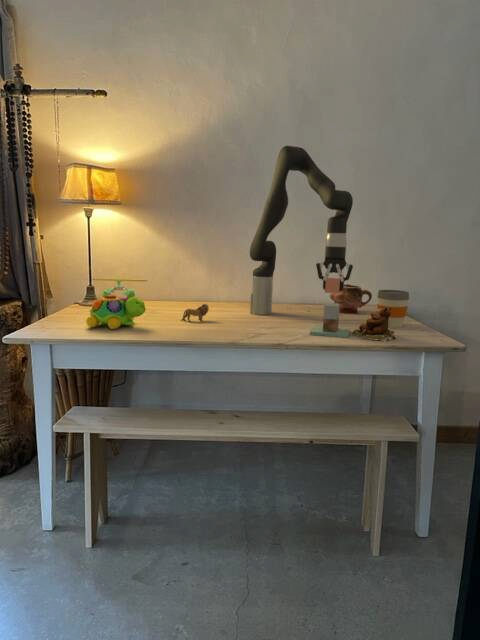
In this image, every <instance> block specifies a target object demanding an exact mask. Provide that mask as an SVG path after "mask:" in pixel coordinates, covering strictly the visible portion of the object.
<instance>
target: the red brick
mask: <svg viewBox="0 0 480 640" xmlns="http://www.w3.org/2000/svg"><path fill="white" fill-rule="evenodd" d="M339 290H340V277H337V278H336V277H328V278H327V279H326V285H325V291H324V293H326V294H327V293H328V294H331V293H340V292H339Z"/></svg>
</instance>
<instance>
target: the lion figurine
mask: <svg viewBox="0 0 480 640" xmlns="http://www.w3.org/2000/svg"><path fill="white" fill-rule="evenodd" d="M209 310H210V309H209V305H208V304H207V303H203V304H201V305H200V306H199V307H198V308H196V309H194V308H186V309H185V310H184V312H183V316H182V319H180V322H182V321H184V322H186V321H188V322H189V323H192V320H190V318H191V316H193V317H198V318H197V319H198V321H199V320H200V322H201V321H203V317H204V316H206V315H207V314H208V312H209ZM186 318H187V320H186Z"/></svg>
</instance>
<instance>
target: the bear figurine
mask: <svg viewBox="0 0 480 640" xmlns="http://www.w3.org/2000/svg"><path fill="white" fill-rule="evenodd" d="M391 309H392V308H391V307H390V308H387V307H386V308H382V309H378V308H377V310H376V312H373V311H371V312H370V318H367V319H366V322H362V323H361V324H360V325H359V326H358V329H354V330H353V331H352V332H351V334H352V335H353V336H356V337H358V338H359V339H360V338H361V339H365V340H372V341H381V342H384V343H386V342H389V341H392V340H393V338H395V339H397V335H396V334H395V333H396V331H393V330H390V329H389V328H388V320H389V316H390V314H391V312H390V310H391Z"/></svg>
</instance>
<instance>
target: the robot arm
mask: <svg viewBox="0 0 480 640" xmlns="http://www.w3.org/2000/svg"><path fill="white" fill-rule="evenodd" d="M275 163H276V164H275V167H274V173H273V177H272V182H271V185H270V189H269V192H268V196H267V198H266V201H265V204H264V207H263V212H262V215H261V219H260V221H259V224H258V227H257V229H256V232H255V234H254V236H253V239H252V241H251V244H250V248H249V257H250V259H251V260H252V261H255V262H261V265H259V266H258V267H257V268H254V269H253V270H252V287H251V290H252V291H251V292H250V306H249V307H250V309H249V313H250V314H253V315H259V316H269V315H272V312H273V311H272V310H273V309H272V308H273V307H272V306H273V287H274V286H273V285H274V284H273V283H274V274H275V270H276V262H277V261H276V259H277V246H276V244H275V242H274V241H272V240H268V237H269V236H270V234H271V232H273V230H274V229H275V228H276V227H277V226H278V225H279V224H280V223H281V222H282V221H283V219H284V218H285V215H286V212H287V210H288V209H287V208H288V205H289V196H288V191H287V186H286V185H287V184H286V183H287V179H288V175H289V173H290V172H289V171H293V172H297V171H299V172H300V173H302V174H304V175H305V176H306V178H307V182H308V184H309V186H310V188H311V189H312V190H313V191H314V192H315V193H316V194H317V195H318V196H319V198H320V200H321V202H322V203H323V205H324V207H326V208H328V209H330V210H332V211H334V210H335V211H336V212H335V214H334V215H333V216H331V217H329V218H328V220H327V229H326V236H325V248H324V249H325V251H324V260H323V262H317V263H316V264H315V266H316V270H317V276H318V279H320V280H322V281H323V282H322V289H323V290H324V292H325V285H326V279H327V278H329V276H330V274H332V273H335V274H338V276H339V277H338V278H340V290H339V292H341V291H342V290H343V289H344V285H345V282H346V281H349V280H350V278H351V274H352V271H353V269H354V264H351V263H347V261H346V253H347V251H346V250H347V229H348V228H347V227H348V225H347V223H348V221H349V220H348V219H349V218H350V216H351V215H350V214H351V212H352V208H353V202H354V201H353V196H352V193H350V192H349V191H348V190H339V189H336V184H335V182H334V181H333V180H332V179H331V178H329V177H328V176H327V175H326V174H325V173H324V171H322V170H321V169H320V168H319V167H318V165H317V164H316V163H315V161H314V160H313V159H312V157H311V156H310V154H309V153H308V152H307V151H306V149H304V148H303V147H299V146H294V145H285V146H283V147H281V149H280V150H279V152H278V156H277V159H276V162H275ZM323 266H324V267H325V269H326V271H325V274H324V275H323V271H322V268H323ZM344 268H346V270H347V272H346V276H345V277H344V272H343V270H344Z"/></svg>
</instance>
